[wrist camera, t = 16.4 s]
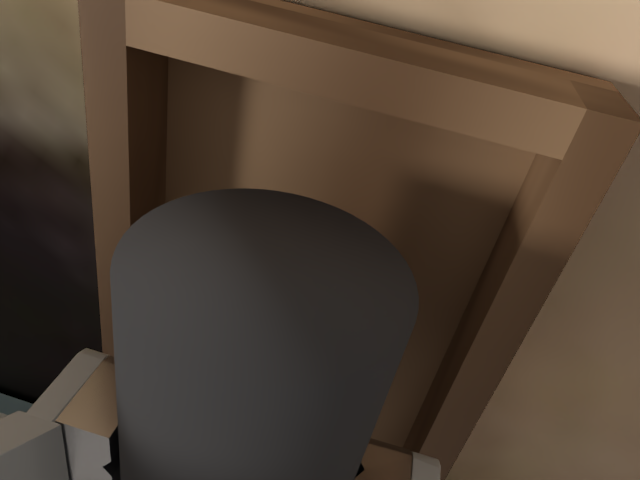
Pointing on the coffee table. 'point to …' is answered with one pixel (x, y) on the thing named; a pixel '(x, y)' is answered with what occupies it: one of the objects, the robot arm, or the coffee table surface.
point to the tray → (361, 165)
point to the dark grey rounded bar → (254, 337)
